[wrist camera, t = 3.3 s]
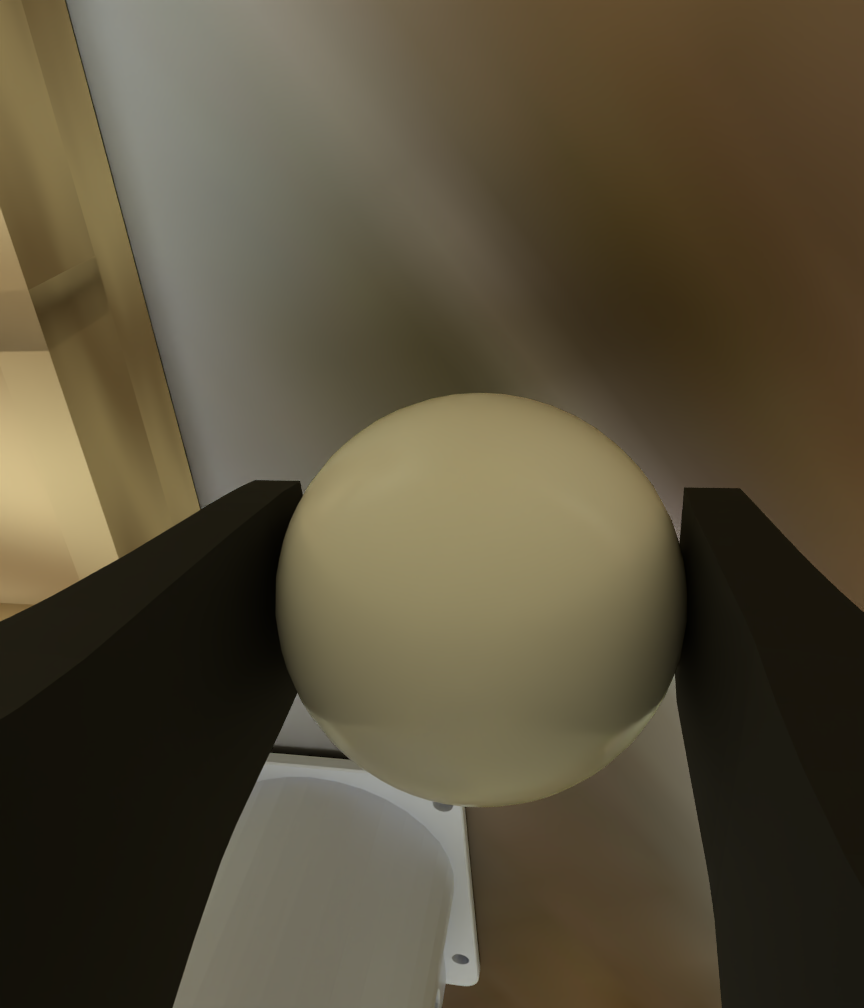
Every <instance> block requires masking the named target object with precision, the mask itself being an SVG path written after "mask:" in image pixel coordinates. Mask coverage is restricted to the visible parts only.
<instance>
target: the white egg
mask: <svg viewBox="0 0 864 1008" xmlns="http://www.w3.org/2000/svg"><path fill="white" fill-rule="evenodd" d="M275 615H276V622H277V629H278V635H279V640H280V645H281V650H282V654H283V657H284V660H285V664H286V667H287V670H288V672H289V675H290V677H291V679H292V681H293V684H294V686H295V688H296V690H297V692H298V694H299V697H300V699H301V701H302V703H303V704H304V706H305V707H306V709H307V710H308V712H309V714H310V715H311V717H312V718H313V719H314V721H315V722H316V723H317V725H318V726H319V727H320V728H321V730H322V731H323V732H324V733H325V735H326V736H327V737H328V738H329V739H330V741H331V742H332V743H333V744H334V745H335V746H336V747H337V748H338V749H339V750H340V751H341V752H342V753H343V754H344V755H346V756H347V757H348V758H349V759H351V760H352V761H353V762H354V763H356V764H357V765H358V766H360V767H361V768H362V769H364V770H365V771H367V772H369V773H370V774H372V775H373V776H375V777H376V778H378V779H379V780H381V781H383V782H385V783H387V784H388V785H390V786H392V787H394V788H396V789H398V790H401V791H403V792H406V793H408V794H411V795H413V796H416V797H419V798H423V799H426V800H429V801H433V802H438V803H442V804H447V805H454V806H462V807H480V808H481V807H500V806H508V805H515V804H523V803H527V802H531V801H536V800H540V799H543V798H546V797H549V796H551V795H554V794H557V793H560V792H562V791H564V790H566V789H568V788H570V787H572V786H574V785H576V784H578V783H580V782H582V781H584V780H586V779H588V778H590V777H591V776H593V775H594V774H596V773H597V772H598V771H600V770H601V769H603V768H604V767H606V766H607V765H608V764H609V763H610V762H611V761H613V760H614V759H615V758H616V757H617V756H618V755H620V754H621V753H622V752H623V751H624V750H625V749H626V748H627V747H628V746H629V745H631V744H632V742H633V741H634V740H635V739H636V738H637V736H638V735H639V734H640V733H641V731H642V730H643V729H644V728H645V726H646V725H647V724H648V722H649V721H650V720H651V718H652V717H653V716H654V714H655V713H656V711H657V709H658V707H659V706H660V704H661V702H662V700H663V699H664V697H665V695H666V693H667V690H668V688H669V686H670V684H671V681H672V679H673V676H674V674H675V671H676V668H677V665H678V663H679V660H680V655H681V650H682V645H683V640H684V635H685V629H686V624H687V583H686V573H685V566H684V560H683V556H682V552H681V548H680V544H679V541H678V538H677V535H676V532H675V529H674V526H673V523H672V520H671V518H670V517H669V515H668V513H667V511H666V509H665V507H664V505H663V503H662V501H661V499H660V497H659V496H658V494H657V492H656V490H655V488H654V487H653V486H652V484H651V483H650V481H649V480H648V479H647V477H646V476H645V474H644V473H643V472H642V470H641V469H640V468H639V467H638V466H637V465H636V464H635V463H634V462H633V460H632V459H631V458H630V457H629V456H628V455H627V454H626V453H625V452H624V451H623V450H622V449H621V448H620V447H619V446H617V445H616V444H615V443H614V442H613V441H611V440H610V439H609V438H608V437H606V436H605V435H604V434H603V433H601V432H600V431H599V430H598V429H596V428H595V427H593V426H591V425H590V424H588V423H586V422H585V421H583V420H581V419H580V418H578V417H576V416H574V415H572V414H570V413H568V412H565V411H563V410H561V409H559V408H556V407H554V406H551V405H548V404H545V403H542V402H538V401H535V400H532V399H528V398H523V397H517V396H512V395H506V394H494V393H466V394H453V395H448V396H443V397H438V398H432V399H429V400H426V401H423V402H420V403H417V404H414V405H411V406H408V407H405V408H402V409H399V410H397V411H395V412H393V413H391V414H389V415H387V416H385V417H383V418H381V419H379V420H377V421H376V422H374V423H373V424H371V425H370V426H368V427H367V428H365V429H364V430H362V431H361V432H359V433H358V434H357V435H355V436H354V437H353V438H351V439H350V440H349V441H348V442H347V443H346V444H344V445H343V446H342V447H341V448H340V449H339V450H338V451H337V452H336V453H335V454H334V455H333V456H331V458H330V459H329V460H328V461H327V463H326V464H325V465H324V467H323V468H322V469H321V470H320V472H319V473H318V474H317V475H316V477H315V478H314V479H313V480H312V482H311V483H310V484H309V486H308V487H307V489H306V491H305V493H304V494H303V496H302V498H301V500H300V502H299V503H298V505H297V507H296V510H295V512H294V514H293V516H292V518H291V520H290V523H289V526H288V529H287V531H286V534H285V537H284V540H283V544H282V549H281V553H280V557H279V563H278V569H277V574H276V611H275Z"/></svg>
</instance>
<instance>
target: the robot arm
mask: <svg viewBox="0 0 864 1008" xmlns="http://www.w3.org/2000/svg"><path fill="white" fill-rule="evenodd" d="M302 496H303V494H302V489H301V483H300V481H268V480H255V481H252V482H250V483H248V484H246V485H244V486H241V487H239V488H238V489H236V490H234V491H232V492H230V493H228V494H227V495H225V496H223V497H221V498H220V499H218V500H216V501H214V502H213V503H211V504H209V505H208V506H206V507H204V508H203V509H201V510H199V511H198V512H196V513H194V514H193V515H191V516H189V517H188V518H186V519H184V520H183V521H181V522H179V523H178V524H176V525H175V526H173V527H171V528H170V529H168V530H166V531H165V532H163V533H161V534H160V535H158V536H156V537H155V538H153V539H151V540H150V541H148V542H146V543H145V544H143V545H141V546H140V547H138V548H136V549H135V550H133V551H131V552H130V553H128V554H126V555H125V556H123V557H121V558H119V559H117V560H116V561H114V562H112V563H110V564H108V565H107V566H105V567H103V568H101V569H99V570H98V571H96V572H94V573H92V574H90V575H89V576H87V577H85V578H83V579H81V580H80V581H78V582H76V583H74V584H72V585H71V586H69V587H67V588H65V589H63V590H62V591H60V592H58V593H56V594H54V595H53V596H51V597H49V598H47V599H45V600H43V601H41V602H39V603H37V604H35V605H33V606H31V607H29V608H27V609H25V610H23V611H21V612H19V613H17V614H15V615H13V616H11V617H9V618H6V619H4V620H2V621H0V1008H442V1003H443V997H444V991H445V985H446V984H453V985H460V986H471V985H474V984H476V983H477V982H478V979H479V973H480V963H479V952H478V942H477V931H476V921H475V910H474V899H473V889H472V878H471V867H470V857H469V846H468V835H467V825H466V814H465V807H462V806H454V805H447V804H442V803H438V802H433V801H429V800H426V799H423V798H419V797H416V796H413V795H411V794H408V793H406V792H403V791H401V790H398V789H396V788H394V787H392V786H390V785H388V784H387V783H385V782H383V781H381V780H379V779H378V778H376V777H375V776H373V775H372V774H370V773H369V772H367V771H365V770H364V769H362V768H361V767H360V766H358V765H357V764H356V763H354V762H353V761H352V760H348V759H337V758H325V757H314V756H302V755H291V754H279V753H270V751H271V749H272V747H273V745H274V743H275V741H276V739H277V736H278V734H279V732H280V730H281V728H282V726H283V723H284V721H285V719H286V717H287V715H288V712H289V710H290V708H291V706H292V704H293V701H294V699H295V697H296V695H297V693H298V692H297V690H296V688H295V686H294V684H293V681H292V679H291V677H290V675H289V672H288V670H287V667H286V664H285V660H284V657H283V654H282V650H281V645H280V640H279V635H278V629H277V622H276V615H275V611H276V574H277V569H278V563H279V557H280V553H281V549H282V544H283V540H284V537H285V534H286V531H287V529H288V526H289V523H290V520H291V518H292V516H293V514H294V512H295V510H296V507H297V505H298V503H299V502H300V500H301V498H302ZM680 548H681V552H682V556H683V560H684V566H685V573H686V583H687V624H686V629H685V635H684V640H683V645H682V650H681V655H680V660H679V663H678V665H677V668H676V671H675V681H676V698H677V705H678V711H679V717H680V723H681V728H682V734H683V739H684V745H685V750H686V756H687V761H688V767H689V772H690V778H691V783H692V788H693V794H694V799H695V805H696V810H697V815H698V821H699V826H700V832H701V837H702V843H703V848H704V853H705V859H706V864H707V870H708V875H709V882H710V889H711V896H712V903H713V911H714V918H715V929H716V941H717V953H718V965H719V977H720V989H721V1001H722V1008H864V612H863V611H861V610H860V609H859V608H858V607H857V606H856V605H855V604H854V603H852V602H851V601H850V600H849V599H848V598H847V597H846V596H845V595H844V594H843V593H841V592H840V591H839V590H838V589H837V588H836V587H835V586H834V585H833V584H832V583H831V582H830V581H829V580H828V579H827V578H826V577H825V576H824V575H822V574H821V573H820V572H819V571H818V570H817V569H816V568H815V567H814V566H813V565H812V564H811V563H810V562H809V561H808V560H807V559H806V558H805V557H804V556H803V555H802V554H801V553H800V552H799V551H798V550H797V548H796V547H795V546H794V545H793V544H792V543H791V542H790V541H789V540H788V539H787V538H786V537H785V536H784V535H783V534H782V533H781V532H780V531H779V529H778V528H777V527H776V526H775V525H774V524H773V523H772V522H771V521H770V520H769V519H768V518H767V517H766V515H765V514H764V513H763V512H762V511H761V510H760V509H759V508H758V507H757V506H756V505H755V504H754V503H753V502H752V500H751V499H750V498H749V497H748V496H747V495H746V494H745V493H744V492H743V491H742V490H741V489H738V488H684V496H683V508H682V520H681V532H680Z"/></svg>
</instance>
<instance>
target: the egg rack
mask: <svg viewBox="0 0 864 1008" xmlns="http://www.w3.org/2000/svg"><path fill="white" fill-rule="evenodd" d="M199 510H200V507H199V503H198V499H197V496H196V492H195V488H194V484H193V480H192V477H191V473H190V469H189V465H188V462H187V458H186V454H185V450H184V447H183V443H182V439H181V435H180V432H179V428H178V424H177V420H176V417H175V413H174V409H173V405H172V402H171V398H170V394H169V390H168V386H167V383H166V379H165V375H164V371H163V368H162V364H161V360H160V356H159V353H158V349H157V345H156V341H155V338H154V334H153V330H152V326H151V323H150V319H149V315H148V311H147V308H146V304H145V300H144V296H143V293H142V289H141V285H140V281H139V277H138V274H137V270H136V266H135V262H134V259H133V255H132V251H131V247H130V244H129V240H128V236H127V232H126V229H125V225H124V221H123V217H122V214H121V210H120V206H119V202H118V199H117V195H116V191H115V187H114V183H113V180H112V176H111V172H110V168H109V165H108V161H107V157H106V153H105V150H104V146H103V142H102V138H101V135H100V131H99V127H98V123H97V120H96V116H95V112H94V108H93V105H92V101H91V97H90V93H89V89H88V86H87V82H86V78H85V74H84V71H83V67H82V63H81V59H80V56H79V52H78V48H77V44H76V41H75V37H74V33H73V29H72V26H71V22H70V18H69V14H68V11H67V7H66V3H65V0H0V621H2V620H4V619H6V618H9V617H11V616H13V615H15V614H17V613H19V612H21V611H23V610H25V609H27V608H29V607H31V606H33V605H35V604H37V603H39V602H41V601H43V600H45V599H47V598H49V597H51V596H53V595H54V594H56V593H58V592H60V591H62V590H63V589H65V588H67V587H69V586H71V585H72V584H74V583H76V582H78V581H80V580H81V579H83V578H85V577H87V576H89V575H90V574H92V573H94V572H96V571H98V570H99V569H101V568H103V567H105V566H107V565H108V564H110V563H112V562H114V561H116V560H117V559H119V558H121V557H123V556H125V555H126V554H128V553H130V552H131V551H133V550H135V549H136V548H138V547H140V546H141V545H143V544H145V543H146V542H148V541H150V540H151V539H153V538H155V537H156V536H158V535H160V534H161V533H163V532H165V531H166V530H168V529H170V528H171V527H173V526H175V525H176V524H178V523H179V522H181V521H183V520H184V519H186V518H188V517H189V516H191V515H193V514H194V513H196V512H198V511H199Z"/></svg>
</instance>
